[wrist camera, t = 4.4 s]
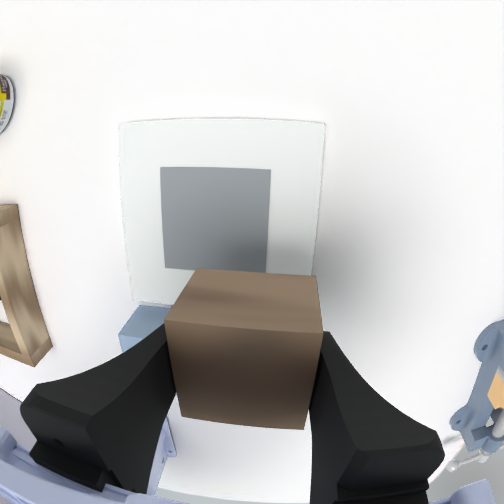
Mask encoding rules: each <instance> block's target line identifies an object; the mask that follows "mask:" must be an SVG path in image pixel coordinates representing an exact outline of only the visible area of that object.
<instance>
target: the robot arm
mask: <svg viewBox="0 0 504 504" xmlns="http://www.w3.org/2000/svg"><path fill="white" fill-rule="evenodd" d="M175 395H176V387H175V382H174V377H173V371H172V366H171V360H170V355H169V349H168V343H167V337H166V330H165V324H164V323H163V324H162V325H161V326H159V327H158V328H157V329H156V330H154V331H153V332H152V333H151V334H149V335H148V336H147V337H145V338H144V339H143V340H141V341H140V342H138V343H137V344H136V345H134V346H133V347H131V348H130V349H128V350H127V351H125V352H124V353H122V354H120V355H119V356H117V357H115V358H113V359H111V360H110V361H108V362H106V363H104V364H102V365H99V366H97V367H95V368H92V369H90V370H88V371H85V372H83V373H80V374H77V375H74V376H71V377H67V378H64V379H60V380H56V381H51V382H46V383H40V384H37V385H36V386H35V387H34V388H33V389H32V391H31V392H30V393H29V395H28V396H27V397H26V399H25V400H24V401H23V402H22V404H21V405H20V413H21V416H22V418H23V420H24V422H25V423H26V425H27V426H28V428H29V429H30V431H31V432H32V434H33V435H34V437H35V438H36V439H37V441H36V443H35V445H34V446H33V448H32V449H31V450H30V449H28V448H26V447H24V446H23V445H21V444H19V443H17V441H16V439H15V438H14V436H13V435H12V434H11V433H10V432H9V431H8V430H7V429H6V428H4V427H3V426H1V425H0V494H1V495H2V496H3V497H5V498H6V499H8V500H9V501H11V502H12V503H14V504H188V503H182V502H178V501H173V500H169V499H165V498H161V497H157V496H154V495H155V492H156V489H157V486H158V483H159V480H160V477H161V474H162V471H163V468H164V465H165V462H166V459H167V456H168V457H172V458H174V457H176V451H175V448H174V444H173V440H172V437H171V433H170V429H169V425H168V422H167V418H166V416H167V413H168V411H169V409H170V406H171V404H172V402H173V399H174V397H175ZM309 414H310V423H311V431H312V474H311V492H310V504H496V501H495V498H494V495H493V492H492V489H491V486H490V484H489V481H488V479H483V480H480V481H477V482H474V483H471V484H467V485H465V486H462V487H461V488H459V489H458V490H456V491H455V492H454V493H453V494H452V495H451V496H450V497H448V498H444V499H441V500H437V501H433V502H429V503H428V499H427V494H426V490H427V489H428V488H429V484H428V480H427V479H428V478H429V477H430V476H431V475H432V474H433V472H434V471H435V470H436V469H437V468H438V467H439V466H440V464H441V463H442V461H443V460H444V457H445V453H444V450H443V447H442V444H441V441H440V439H439V436H438V434H437V432H436V431H435V430H432V429H430V428H428V427H427V426H425V425H423V424H421V423H419V422H417V421H415V420H413V419H412V418H410V417H409V416H407V415H405V414H404V413H402V412H401V411H399V410H398V409H397V408H395V407H394V406H393V405H391V404H390V403H389V402H387V401H386V400H385V399H384V398H383V397H381V396H380V395H379V394H378V393H377V392H376V391H375V390H374V389H373V388H372V387H371V386H370V385H369V384H368V383H367V382H366V381H365V380H364V379H363V378H362V377H361V375H360V374H359V373H358V372H357V371H356V369H355V368H354V367H353V366H352V364H351V363H350V362H349V360H348V359H347V357H346V356H345V355H344V353H343V352H342V350H341V349H340V347H339V346H338V344H337V343H336V341H335V340H334V338H333V337H332V335H331V334H330V332H326V331H323V338H322V344H321V349H320V355H319V360H318V365H317V371H316V376H315V381H314V386H313V390H312V395H311V400H310V404H309Z"/></svg>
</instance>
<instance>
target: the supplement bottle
mask: <svg viewBox="0 0 504 504" xmlns="http://www.w3.org/2000/svg"><path fill="white" fill-rule="evenodd" d="M13 102H14V92H13V87H12V84H11V82H10V80H9V79H8V78H7V77H6V76H5V75H2V74H0V133H1V132H2V130H3V129H4V128H5V126H6V125H7V123H8V121H9V118H10V116H11V113H12V108H13Z"/></svg>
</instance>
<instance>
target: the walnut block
mask: <svg viewBox="0 0 504 504" xmlns="http://www.w3.org/2000/svg"><path fill="white" fill-rule="evenodd" d="M164 324H165V330H166V337H167V343H168V349H169V355H170V360H171V366H172V371H173V377H174V382H175V387H176V392H177V397H178V401H179V406H180V411H181V415H182V417H188V418H193V419H199V420H206V421H212V422H219V423H227V424H235V425H244V426H254V427H265V428H279V429H299V430H304V426H305V422H306V418H307V413H308V409H309V404H310V400H311V395H312V390H313V386H314V381H315V376H316V371H317V365H318V360H319V355H320V349H321V344H322V338H323V326H322V318H321V311H320V303H319V296H318V289H317V282H316V276H309V275H292V274H275V273H260V272H245V271H230V270H216V269H202V268H197V269H196V270H195V272H194V273H193V275H192V276H191V278H190V279H189V281H188V282H187V284H186V286H185V287H184V289H183V290H182V292H181V293H180V295H179V296H178V298H177V300H176V301H175V303H174V304H173V306H172V307H171V309H170V311H169V312H168V314H167V315H166V317H165V318H164Z"/></svg>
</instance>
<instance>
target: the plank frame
mask: <svg viewBox="0 0 504 504" xmlns="http://www.w3.org/2000/svg"><path fill="white" fill-rule="evenodd" d="M0 297H1V300H2V303H3V306H4V309H5V312H6V315H7V318H8V321H9V323H10V325H9V324H6V323H3V322H0V354H3V355H5V356H7V357H10V358H12V359H15V360H17V361H19V362H22V363H24V364H27V365H30V366H32V367H35V366H36V365H37V364H38V363H39V361H40V360H41V359H42V358H43V357H44V356H45V355H46V353H47V352H48V351H49V350H50V349H51V348H52V347H53V346H52V343H51V341H50V338H49V335H48V332H47V329H46V326H45V323H44V320H43V317H42V314H41V311H40V307H39V304H38V300H37V297H36V293H35V290H34V286H33V282H32V278H31V274H30V270H29V266H28V261H27V257H26V252H25V247H24V242H23V237H22V231H21V225H20V219H19V213H18V205H17V204H9V205H0Z"/></svg>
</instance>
